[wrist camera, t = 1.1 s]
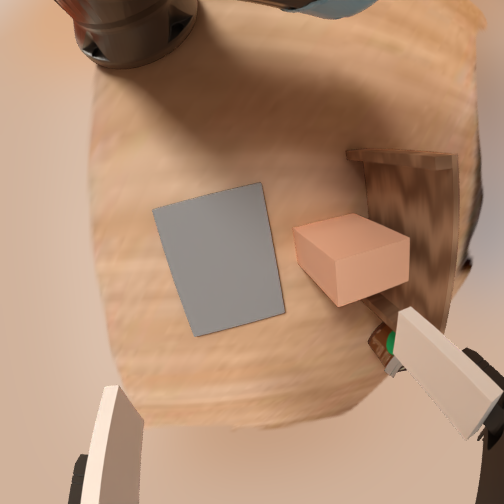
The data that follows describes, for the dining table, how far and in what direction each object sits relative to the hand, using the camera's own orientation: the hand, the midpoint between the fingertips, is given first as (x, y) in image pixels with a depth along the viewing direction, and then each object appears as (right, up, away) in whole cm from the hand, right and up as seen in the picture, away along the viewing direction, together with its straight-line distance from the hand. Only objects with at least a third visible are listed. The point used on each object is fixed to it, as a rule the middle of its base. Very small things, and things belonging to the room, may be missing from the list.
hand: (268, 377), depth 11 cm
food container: (+25, -8, +34) cm, 43 cm away
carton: (+9, +7, +26) cm, 28 cm away
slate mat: (-4, +4, +24) cm, 25 cm away
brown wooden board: (+15, +9, +26) cm, 32 cm away
